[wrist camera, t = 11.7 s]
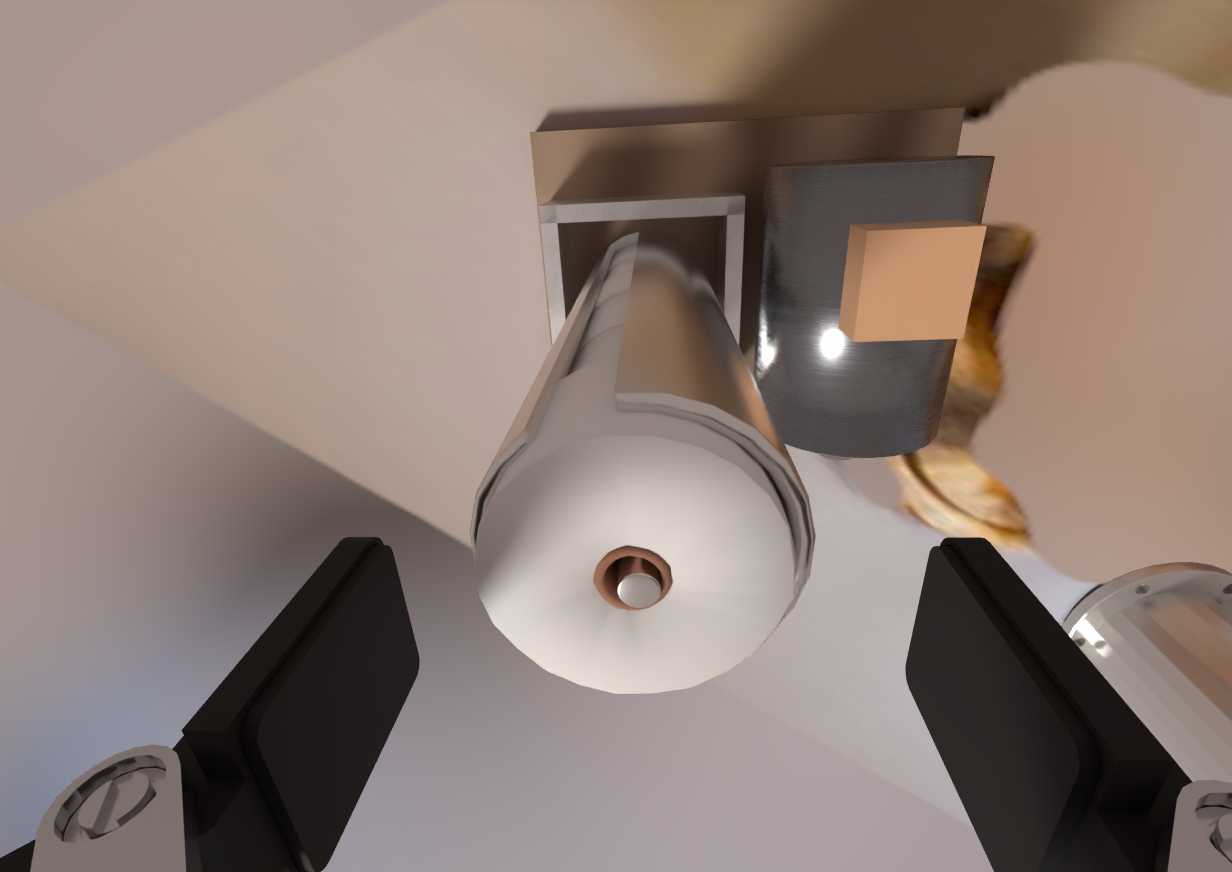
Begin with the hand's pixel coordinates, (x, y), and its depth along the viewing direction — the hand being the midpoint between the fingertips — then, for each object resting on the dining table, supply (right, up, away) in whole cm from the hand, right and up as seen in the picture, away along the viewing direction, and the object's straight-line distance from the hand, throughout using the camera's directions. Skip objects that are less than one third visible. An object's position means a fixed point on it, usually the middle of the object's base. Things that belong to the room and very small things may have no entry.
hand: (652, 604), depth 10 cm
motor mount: (+6, +12, +23) cm, 27 cm away
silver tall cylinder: (+1, +11, +22) cm, 25 cm away
